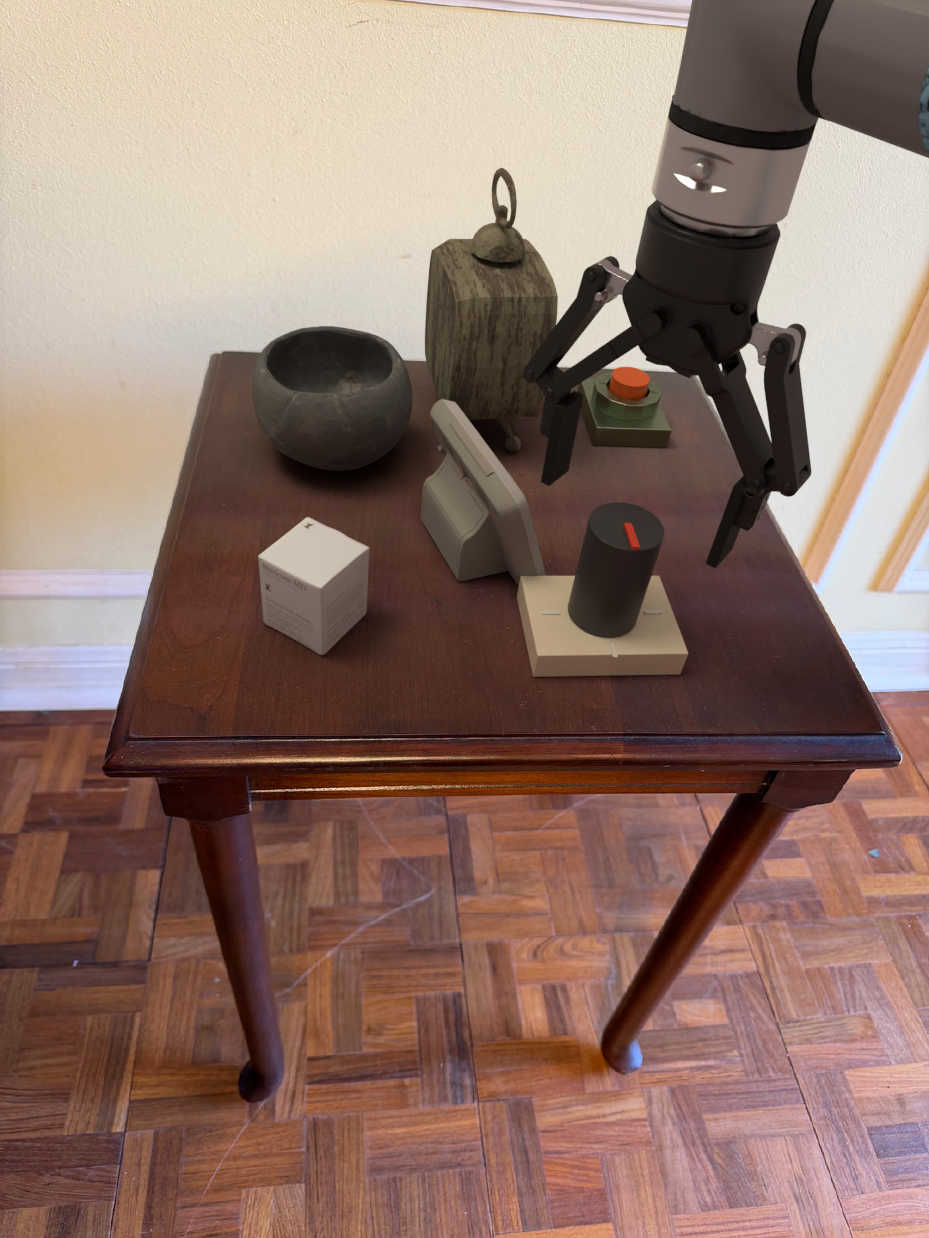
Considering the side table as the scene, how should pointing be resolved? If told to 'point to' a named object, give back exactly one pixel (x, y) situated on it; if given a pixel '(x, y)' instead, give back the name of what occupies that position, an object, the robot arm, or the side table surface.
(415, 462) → the side table surface
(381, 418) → the bowl
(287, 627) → the product box
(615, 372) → the push button
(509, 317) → the tabletop clock
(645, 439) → the button block
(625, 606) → the dial
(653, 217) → the robot arm
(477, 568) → the digital clock
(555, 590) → the dial panel
